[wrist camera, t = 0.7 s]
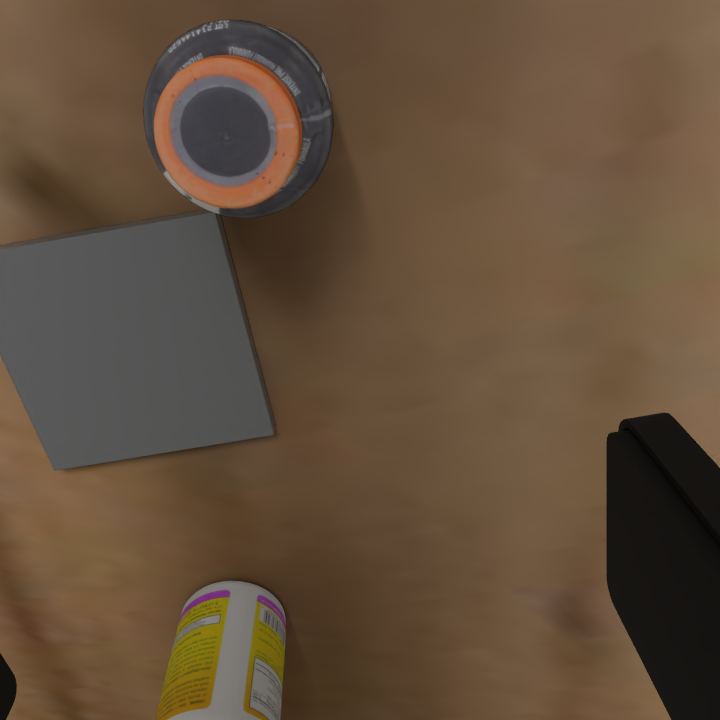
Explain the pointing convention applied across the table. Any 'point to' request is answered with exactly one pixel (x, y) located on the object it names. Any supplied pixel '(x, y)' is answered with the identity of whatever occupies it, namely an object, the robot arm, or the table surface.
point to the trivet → (131, 340)
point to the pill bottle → (239, 118)
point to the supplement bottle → (226, 656)
